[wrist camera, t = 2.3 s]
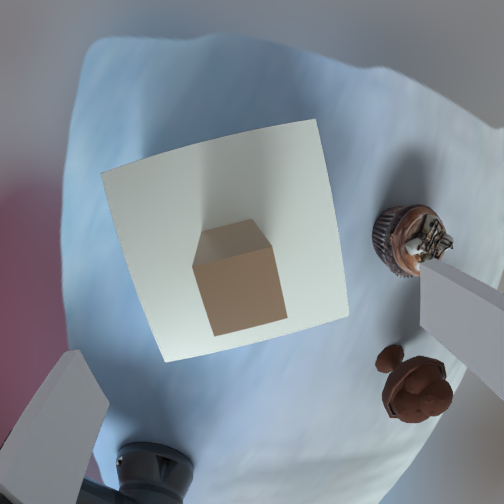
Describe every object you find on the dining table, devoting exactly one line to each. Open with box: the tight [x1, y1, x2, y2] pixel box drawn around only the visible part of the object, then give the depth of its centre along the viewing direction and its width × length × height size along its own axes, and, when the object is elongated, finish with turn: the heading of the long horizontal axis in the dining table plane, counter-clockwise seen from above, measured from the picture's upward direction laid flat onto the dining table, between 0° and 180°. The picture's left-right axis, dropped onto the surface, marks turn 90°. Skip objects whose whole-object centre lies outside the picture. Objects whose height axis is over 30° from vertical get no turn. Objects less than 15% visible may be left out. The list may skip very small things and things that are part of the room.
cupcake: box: [372, 204, 454, 278], centre depth 35 cm, size 10×10×10 cm
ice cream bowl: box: [375, 345, 453, 423], centre depth 38 cm, size 11×11×15 cm
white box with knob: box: [101, 119, 349, 362], centre depth 26 cm, size 17×17×22 cm
